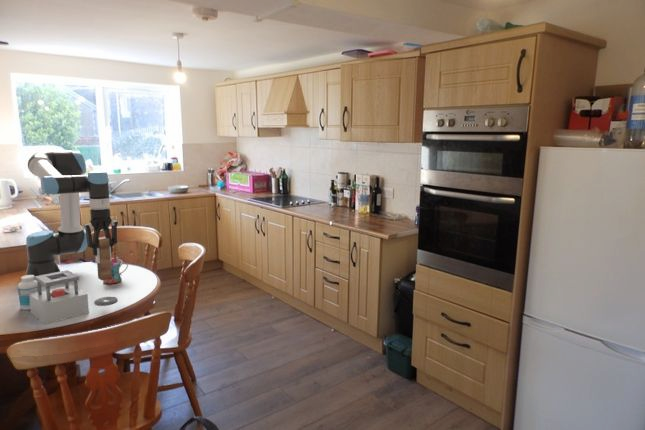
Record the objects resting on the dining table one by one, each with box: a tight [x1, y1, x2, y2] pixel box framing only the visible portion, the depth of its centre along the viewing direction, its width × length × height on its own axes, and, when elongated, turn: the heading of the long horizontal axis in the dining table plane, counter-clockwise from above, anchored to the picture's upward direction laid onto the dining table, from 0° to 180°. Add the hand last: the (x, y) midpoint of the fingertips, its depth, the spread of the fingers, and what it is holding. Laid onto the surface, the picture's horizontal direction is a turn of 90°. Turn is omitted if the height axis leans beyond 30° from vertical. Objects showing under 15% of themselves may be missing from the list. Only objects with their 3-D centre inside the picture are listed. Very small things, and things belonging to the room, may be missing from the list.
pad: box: [94, 296, 118, 306], centre depth 188 cm, size 9×9×1 cm
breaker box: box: [29, 269, 90, 325], centre depth 174 cm, size 16×16×16 cm
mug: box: [102, 258, 129, 284], centre depth 214 cm, size 12×9×11 cm
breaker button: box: [52, 288, 65, 298], centre depth 175 cm, size 4×4×8 cm
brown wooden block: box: [96, 236, 112, 281], centre depth 185 cm, size 4×4×18 cm
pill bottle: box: [17, 275, 38, 311], centre depth 179 cm, size 8×7×14 cm
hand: (103, 261), depth 185 cm, fingers closed on brown wooden block, 4 cm apart
